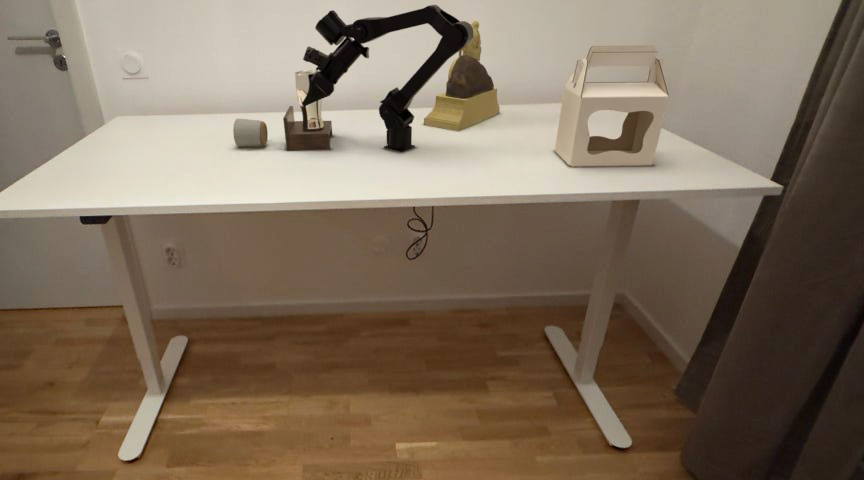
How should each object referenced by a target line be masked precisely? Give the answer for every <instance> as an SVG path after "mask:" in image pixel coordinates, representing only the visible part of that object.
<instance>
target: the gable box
mask: <svg viewBox="0 0 864 480" xmlns="http://www.w3.org/2000/svg"><path fill="white" fill-rule="evenodd" d="M658 54H659V52H658V51H657V48H656V46H654V45H593V46H591V47H589V49H588V53H587V56H586V58H583V59H577V61H576V65H575V69H574V71H573V73H572V74H571V76H570V78H569V79H568V80H567V82H566V83H565V85H564V87H563V91H562V92H563V93H562V99H561V106H560V113H559V119H558V126H557V133H556V138H555V146H554V152H555V153H556V154H557V155H558V156H559V157H560V158H561V159H562V160H563V161H564V162H565V163H566V164H567V166H569V167H571V168H572V167H573V168H575V167H577V168H578V167H634V166H635V167H637V166H638V167H641V166H643V167H645V166H652V165H653V163H654V160H655V156H656V151H657V147H658V143H659V139H660V134H661V131H662V127H663V123H664V118H665V116H666V115H665V114H666V111H667V107H668V102H669V98H670V95H669V91H668V88H667V87H668V86H667V84H666V79H665V76H664V72H663V68H664V61H665V59H658V58H657V56H658ZM591 67H592V68H595V67H645V68H646V67H649V69H648V73H647V77H646V81H598V82H597V81H596V82H595V81H592V82H591V81H590V82H589V81H588V82H586V81H587V75H588V71H589V69H590V68H591ZM599 111H613V112H614V111H615V112H619V113H627V115H626V116H625V119H624V120H623V123H622V126H621V127H622V128H621V134H620V136H619V137H617V138H609V137H606V136H601V135H591V136H590V130H589V119H590V116H591V115H593V114H594V113H595V112H599Z"/></svg>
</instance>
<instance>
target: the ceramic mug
mask: <svg viewBox="0 0 864 480" xmlns="http://www.w3.org/2000/svg"><path fill="white" fill-rule="evenodd" d="M232 132H233V133H232V134H233V141H234V144H235V145H236V147H239V148H240V147H241V148H243V147H246V148H249V147H251V148H252V147H253V148H262V147H265V146H266V145H267V142H268V137H269V135H268V133H269V132H268V126H267V124H266V122H265V121H263V120H258V119H250V118H249V119H247V118H235V120H234V122H233V131H232Z"/></svg>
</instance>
